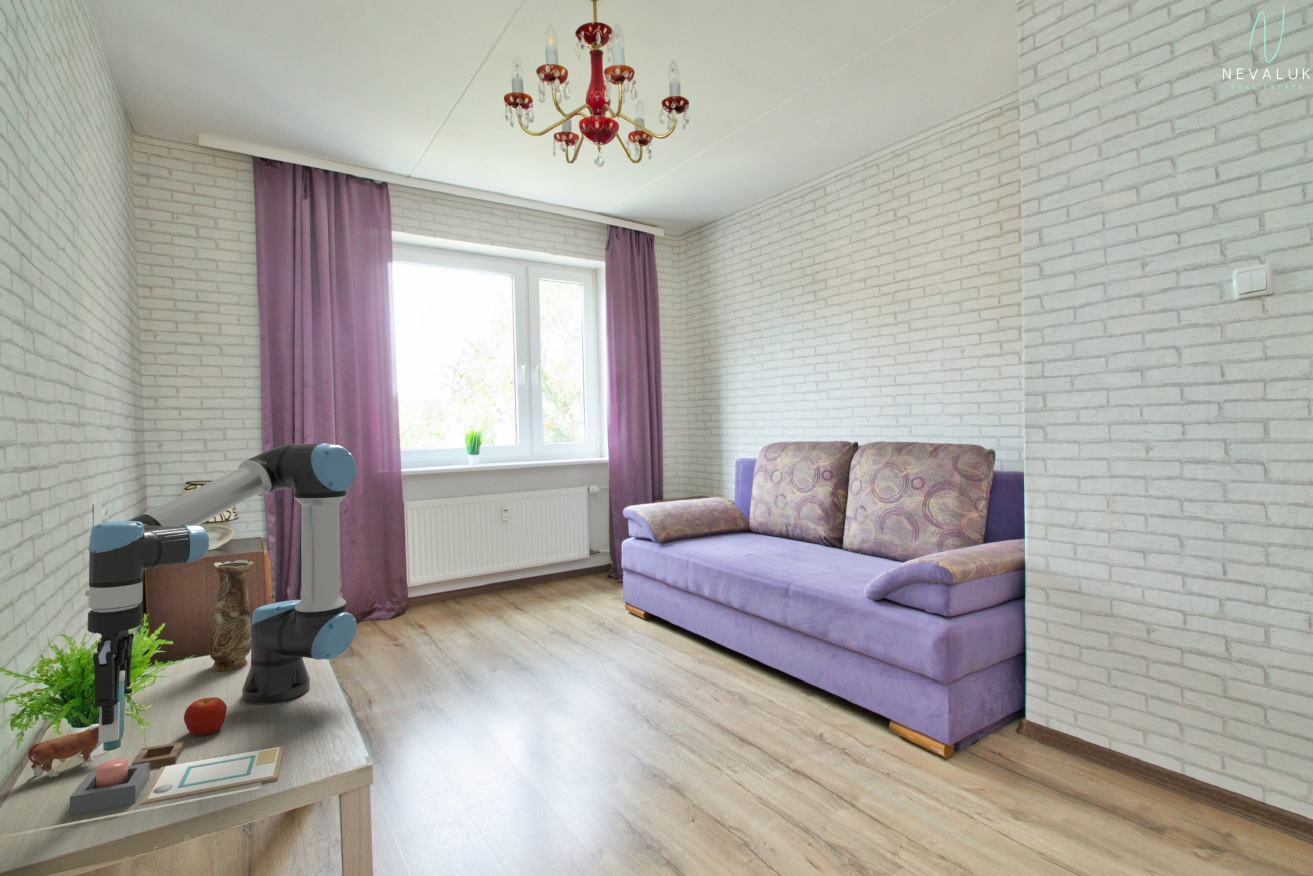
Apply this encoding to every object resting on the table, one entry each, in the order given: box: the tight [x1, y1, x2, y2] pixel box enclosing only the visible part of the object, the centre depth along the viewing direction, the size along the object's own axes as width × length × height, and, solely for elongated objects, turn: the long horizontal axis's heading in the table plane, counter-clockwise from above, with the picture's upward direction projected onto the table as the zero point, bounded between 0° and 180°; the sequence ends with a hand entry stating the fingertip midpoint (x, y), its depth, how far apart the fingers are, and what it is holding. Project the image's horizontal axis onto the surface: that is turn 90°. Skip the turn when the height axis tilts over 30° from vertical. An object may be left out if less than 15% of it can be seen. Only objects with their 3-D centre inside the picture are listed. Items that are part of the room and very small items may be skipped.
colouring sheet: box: [140, 745, 285, 805], centre depth 124 cm, size 14×21×1 cm, turn 116°
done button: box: [95, 758, 129, 788], centre depth 116 cm, size 4×4×3 cm
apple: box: [183, 696, 228, 737], centre depth 142 cm, size 8×8×8 cm
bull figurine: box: [27, 723, 103, 778], centre depth 126 cm, size 4×13×8 cm, turn 138°
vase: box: [208, 559, 254, 672], centre depth 184 cm, size 10×11×30 cm
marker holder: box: [130, 741, 184, 769], centre depth 129 cm, size 7×7×2 cm
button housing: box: [69, 762, 151, 816], centre depth 116 cm, size 9×9×4 cm
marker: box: [102, 670, 125, 752], centre depth 116 cm, size 3×3×14 cm
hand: (112, 736), depth 116 cm, fingers closed on marker, 3 cm apart
